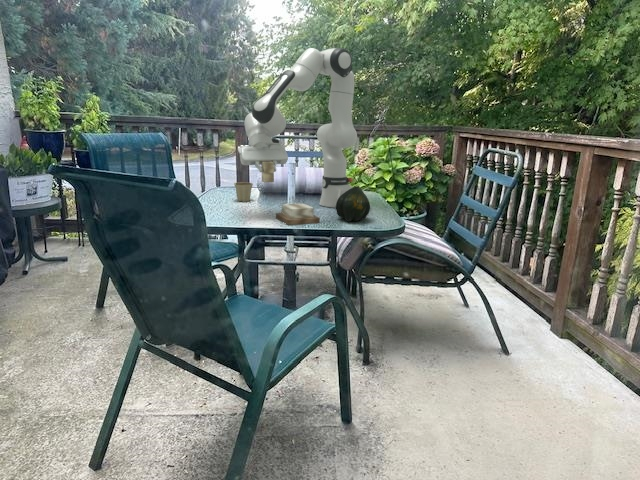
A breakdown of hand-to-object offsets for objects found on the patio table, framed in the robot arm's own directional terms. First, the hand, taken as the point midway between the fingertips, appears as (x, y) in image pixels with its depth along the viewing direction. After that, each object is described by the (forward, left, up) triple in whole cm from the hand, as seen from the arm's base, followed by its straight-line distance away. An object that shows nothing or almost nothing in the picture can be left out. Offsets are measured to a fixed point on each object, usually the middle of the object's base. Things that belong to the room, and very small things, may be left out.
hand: (268, 171), depth 186 cm
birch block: (0, -1, -4) cm, 4 cm away
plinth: (-10, +8, -20) cm, 24 cm away
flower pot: (-1, -40, -20) cm, 44 cm away
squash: (-33, +14, -20) cm, 41 cm away
